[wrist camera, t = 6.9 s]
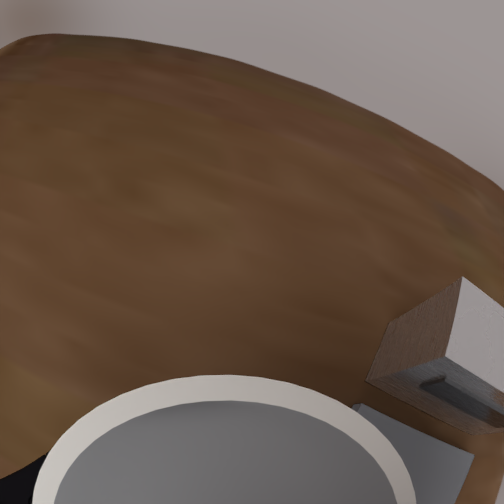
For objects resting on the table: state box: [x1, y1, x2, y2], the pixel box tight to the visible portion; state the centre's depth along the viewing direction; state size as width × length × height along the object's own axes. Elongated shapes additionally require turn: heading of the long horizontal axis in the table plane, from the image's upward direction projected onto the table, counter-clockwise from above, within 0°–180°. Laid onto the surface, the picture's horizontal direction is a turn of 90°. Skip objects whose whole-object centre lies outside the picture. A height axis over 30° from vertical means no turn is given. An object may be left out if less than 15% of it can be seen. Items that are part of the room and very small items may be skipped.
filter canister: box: [32, 375, 416, 504], centre depth 8 cm, size 5×5×13 cm
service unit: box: [365, 276, 504, 435], centre depth 14 cm, size 4×10×7 cm, turn 59°
